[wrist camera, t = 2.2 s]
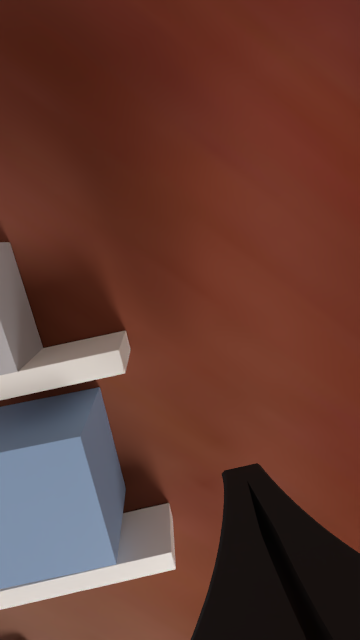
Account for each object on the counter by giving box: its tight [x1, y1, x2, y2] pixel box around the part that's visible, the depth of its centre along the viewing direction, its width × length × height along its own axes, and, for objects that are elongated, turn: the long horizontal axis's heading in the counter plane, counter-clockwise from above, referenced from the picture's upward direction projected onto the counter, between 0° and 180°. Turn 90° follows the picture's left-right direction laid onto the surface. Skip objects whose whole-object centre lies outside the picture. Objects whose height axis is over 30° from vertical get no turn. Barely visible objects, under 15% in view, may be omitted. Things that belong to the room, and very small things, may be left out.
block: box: [0, 387, 126, 589], centre depth 15 cm, size 6×6×4 cm
